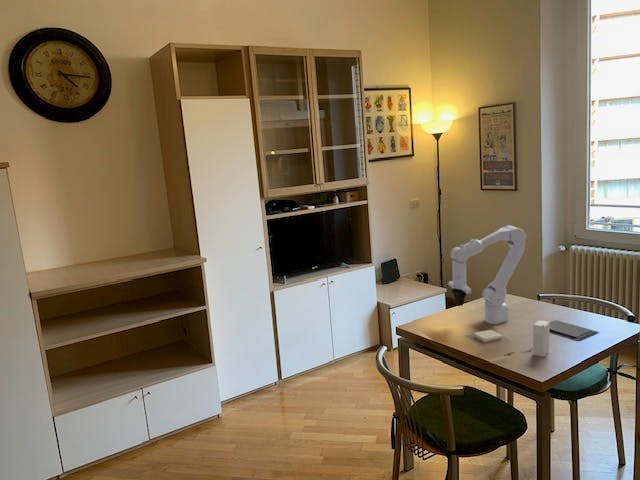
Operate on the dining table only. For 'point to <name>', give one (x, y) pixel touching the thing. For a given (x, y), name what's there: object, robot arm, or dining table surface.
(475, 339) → the mat
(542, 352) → the skincare box
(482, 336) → the tile
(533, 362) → the dining table surface
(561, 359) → the dining table surface
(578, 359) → the dining table surface
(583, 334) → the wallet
